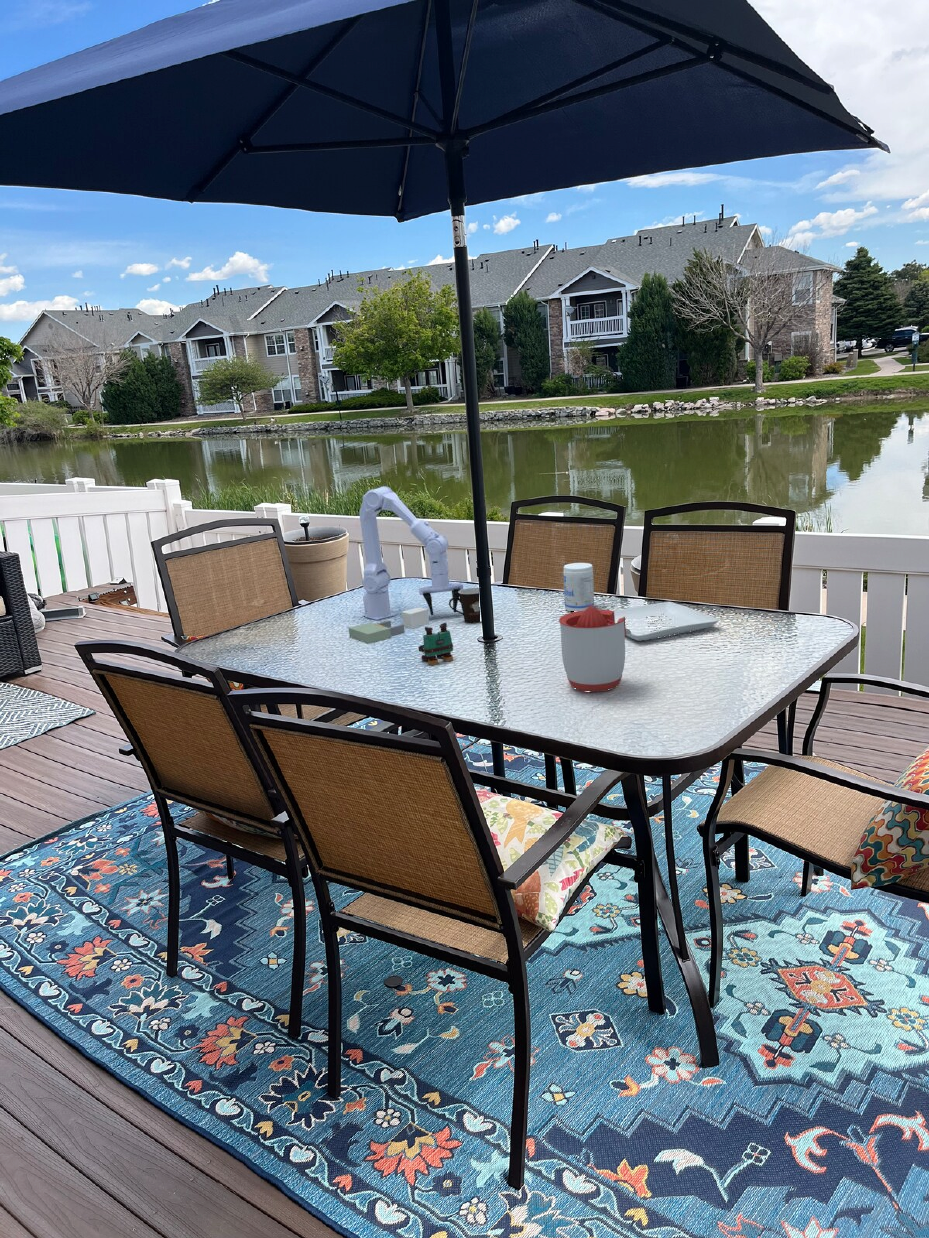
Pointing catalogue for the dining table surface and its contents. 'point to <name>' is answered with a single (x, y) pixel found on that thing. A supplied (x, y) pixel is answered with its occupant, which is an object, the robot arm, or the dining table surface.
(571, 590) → the supplement tub
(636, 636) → the square plate
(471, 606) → the coffee mug
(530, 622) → the dining table surface
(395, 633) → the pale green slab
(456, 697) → the dining table surface
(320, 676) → the dining table surface
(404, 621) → the tall pale grey block
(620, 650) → the citrus juicer
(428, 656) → the binoculars
